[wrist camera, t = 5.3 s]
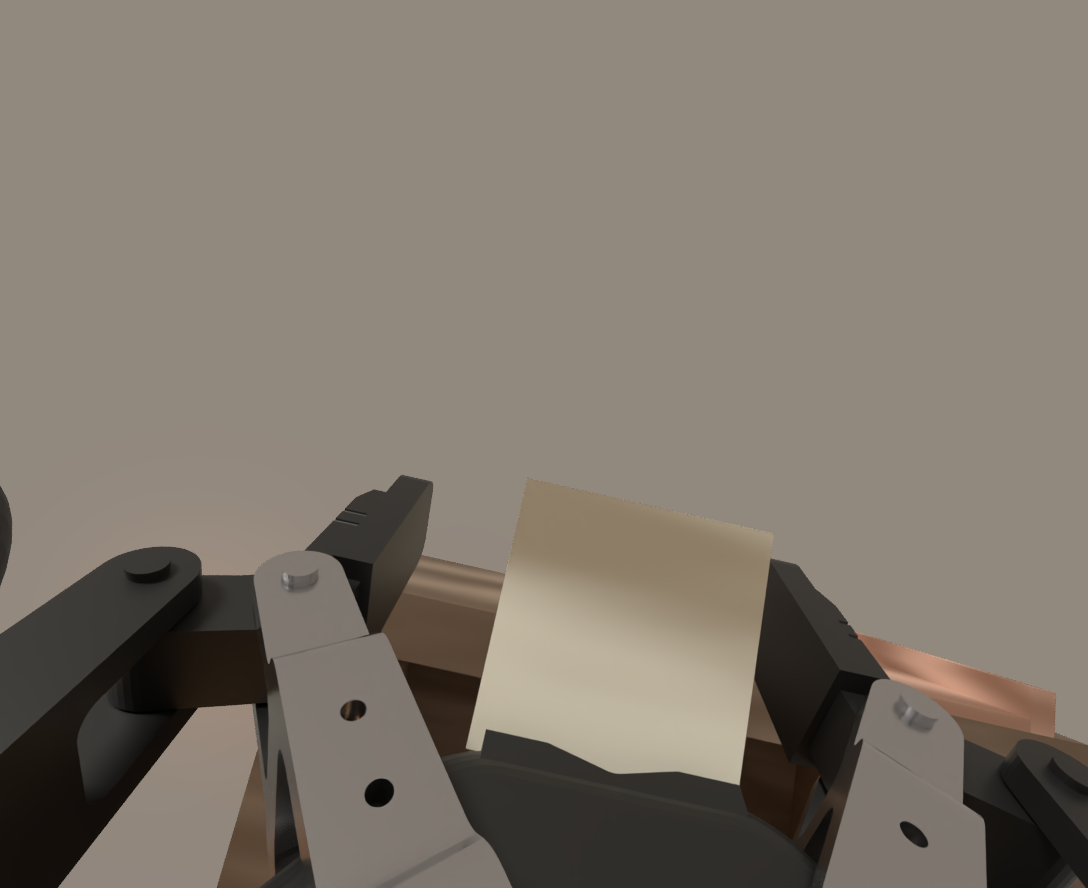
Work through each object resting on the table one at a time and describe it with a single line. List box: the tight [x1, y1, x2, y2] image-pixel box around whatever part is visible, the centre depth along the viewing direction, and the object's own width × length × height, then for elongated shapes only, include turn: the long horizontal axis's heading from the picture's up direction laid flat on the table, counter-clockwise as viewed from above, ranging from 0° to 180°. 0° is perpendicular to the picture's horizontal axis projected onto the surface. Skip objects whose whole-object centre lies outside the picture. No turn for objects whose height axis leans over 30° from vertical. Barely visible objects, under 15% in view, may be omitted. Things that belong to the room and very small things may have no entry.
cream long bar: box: [466, 478, 774, 785], centre depth 18 cm, size 24×4×4 cm, turn 3°
